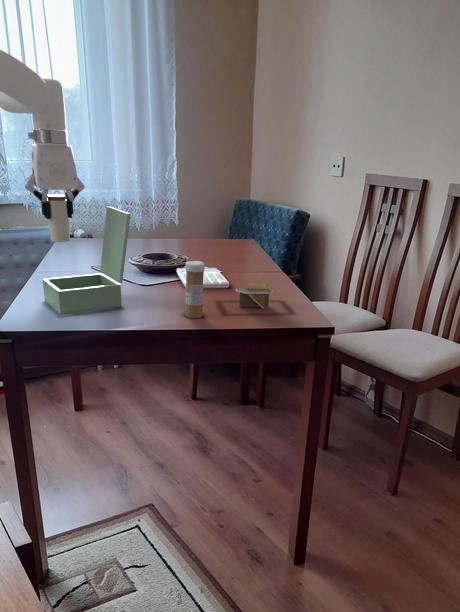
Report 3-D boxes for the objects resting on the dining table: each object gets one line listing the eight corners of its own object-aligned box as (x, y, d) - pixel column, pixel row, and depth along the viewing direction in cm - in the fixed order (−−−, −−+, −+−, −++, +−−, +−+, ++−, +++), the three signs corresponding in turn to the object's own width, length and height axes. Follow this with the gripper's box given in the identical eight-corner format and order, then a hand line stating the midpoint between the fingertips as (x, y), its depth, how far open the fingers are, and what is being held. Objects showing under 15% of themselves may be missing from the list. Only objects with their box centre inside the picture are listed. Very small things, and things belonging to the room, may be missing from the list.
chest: (60, 317, 134) (58, 291, 131) (45, 303, 143) (42, 278, 140) (121, 309, 142) (120, 284, 139) (103, 296, 151) (101, 273, 148)
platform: (292, 314, 144) (295, 290, 141) (225, 315, 141) (226, 290, 138) (280, 301, 155) (283, 278, 152) (217, 302, 152) (218, 278, 149)
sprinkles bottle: (184, 313, 141) (184, 260, 135) (202, 313, 142) (203, 260, 136) (186, 319, 137) (186, 264, 131) (204, 318, 138) (205, 264, 132)
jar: (54, 242, 141) (49, 196, 136) (48, 239, 144) (43, 194, 139) (72, 241, 143) (68, 196, 138) (66, 238, 147) (62, 194, 142)
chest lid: (127, 213, 132) (130, 213, 133) (106, 206, 142) (110, 206, 142) (119, 282, 138) (122, 283, 139) (100, 271, 148) (103, 271, 148)
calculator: (185, 289, 162) (185, 282, 161) (175, 272, 179) (175, 266, 178) (230, 288, 165) (230, 282, 164) (216, 272, 182) (216, 266, 181)
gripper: (18, 138, 126) (28, 221, 134) (90, 140, 134) (95, 218, 143) (10, 136, 131) (20, 217, 140) (80, 138, 140) (85, 214, 148)
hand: (58, 217), depth 141 cm, fingers closed on jar, 4 cm apart
